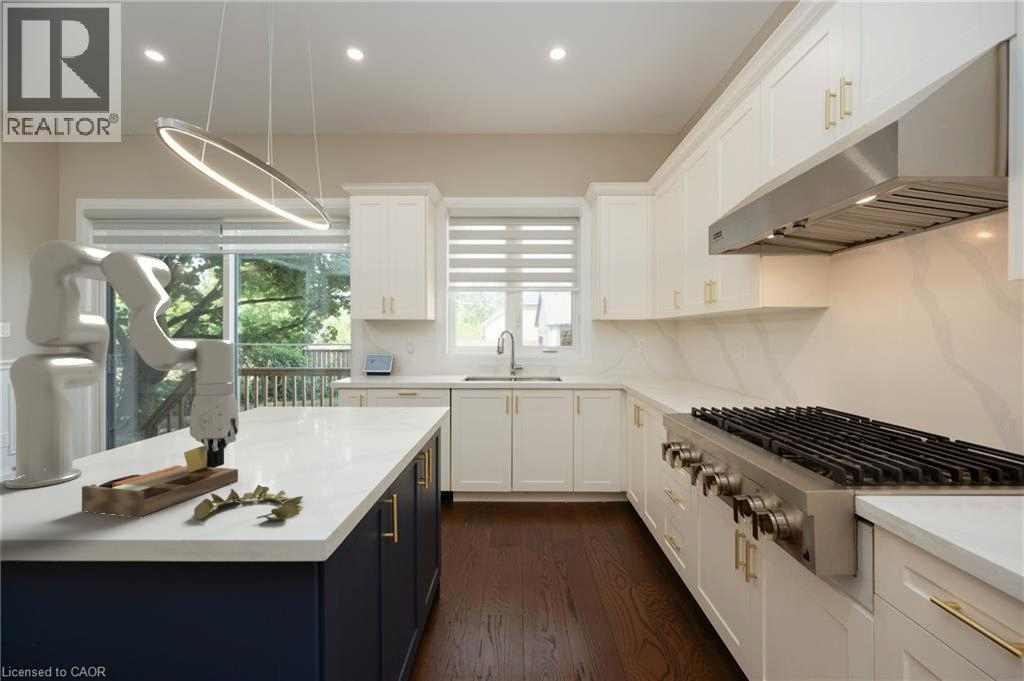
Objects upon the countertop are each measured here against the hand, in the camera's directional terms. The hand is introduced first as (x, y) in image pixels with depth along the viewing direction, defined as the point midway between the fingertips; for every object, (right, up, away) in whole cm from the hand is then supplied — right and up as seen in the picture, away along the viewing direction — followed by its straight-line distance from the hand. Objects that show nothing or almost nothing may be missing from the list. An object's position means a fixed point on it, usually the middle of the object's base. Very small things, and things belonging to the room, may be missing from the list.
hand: (215, 466), depth 104 cm
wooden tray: (-6, -4, -7) cm, 10 cm away
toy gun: (-21, -5, +3) cm, 22 cm away
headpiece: (+19, -5, -15) cm, 25 cm away
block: (-3, -1, +1) cm, 3 cm away
